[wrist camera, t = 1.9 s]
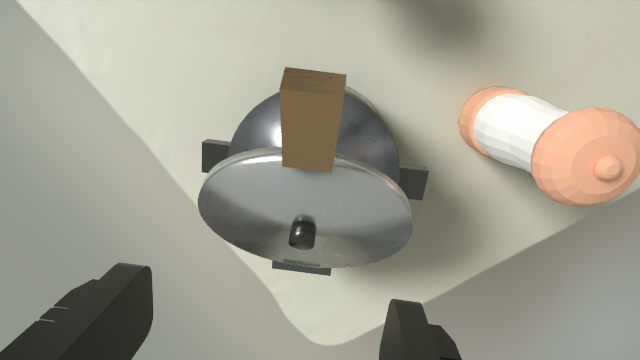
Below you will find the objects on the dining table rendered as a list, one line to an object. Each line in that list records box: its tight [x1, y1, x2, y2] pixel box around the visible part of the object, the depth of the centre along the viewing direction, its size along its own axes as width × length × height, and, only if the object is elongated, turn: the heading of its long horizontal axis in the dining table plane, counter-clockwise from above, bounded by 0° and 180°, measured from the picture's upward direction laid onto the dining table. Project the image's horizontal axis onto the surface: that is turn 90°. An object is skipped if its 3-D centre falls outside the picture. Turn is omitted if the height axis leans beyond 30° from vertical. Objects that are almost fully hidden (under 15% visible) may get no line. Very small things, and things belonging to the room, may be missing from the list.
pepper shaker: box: [459, 87, 640, 206], centre depth 32 cm, size 7×7×19 cm
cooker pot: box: [202, 85, 429, 276], centre depth 39 cm, size 22×18×10 cm
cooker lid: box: [198, 67, 412, 269], centre depth 26 cm, size 17×23×3 cm
